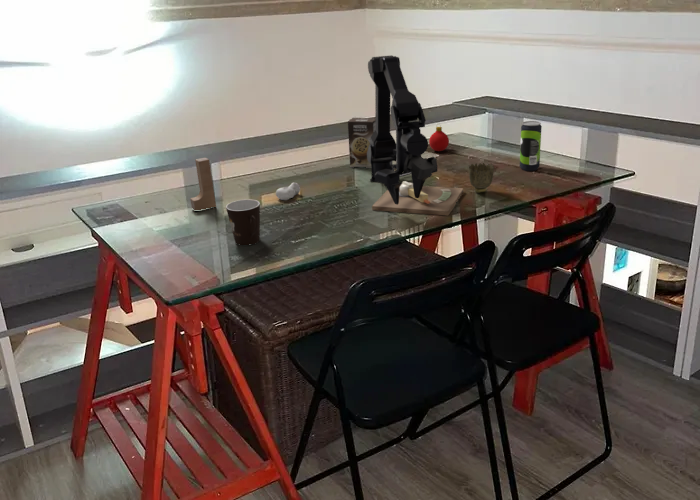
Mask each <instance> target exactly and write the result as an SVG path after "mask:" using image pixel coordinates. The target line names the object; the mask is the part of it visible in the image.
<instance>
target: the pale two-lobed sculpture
mask: <svg viewBox="0 0 700 500" xmlns="http://www.w3.org/2000/svg"><path fill="white" fill-rule="evenodd" d="M300 192H301V187H300V185H299V183H297V182H291V184H290V185H289V186H283V187H279V188H278V189H276V191H275V196H276V197H277V199H279V200H280V201H288V200H290V199H291V198H292V199H294V197H295V196H296V195H298V194H300Z"/></svg>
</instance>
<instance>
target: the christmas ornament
mask: <svg viewBox="0 0 700 500" xmlns="http://www.w3.org/2000/svg"><path fill="white" fill-rule="evenodd" d="M438 125H439V123H437V125H436V127H435V132H433V133H432V134H431V135H430V137H429V139H428V145H429V146H430V148H431V149H432V150H433V151H435V152H442V151H445V150H446V149H447V148H448V147H449V144H450V139H449V136H448V135H447V134H446V133H445V132H444V131H443V130H442V129H443V127H441V126H438Z"/></svg>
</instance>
